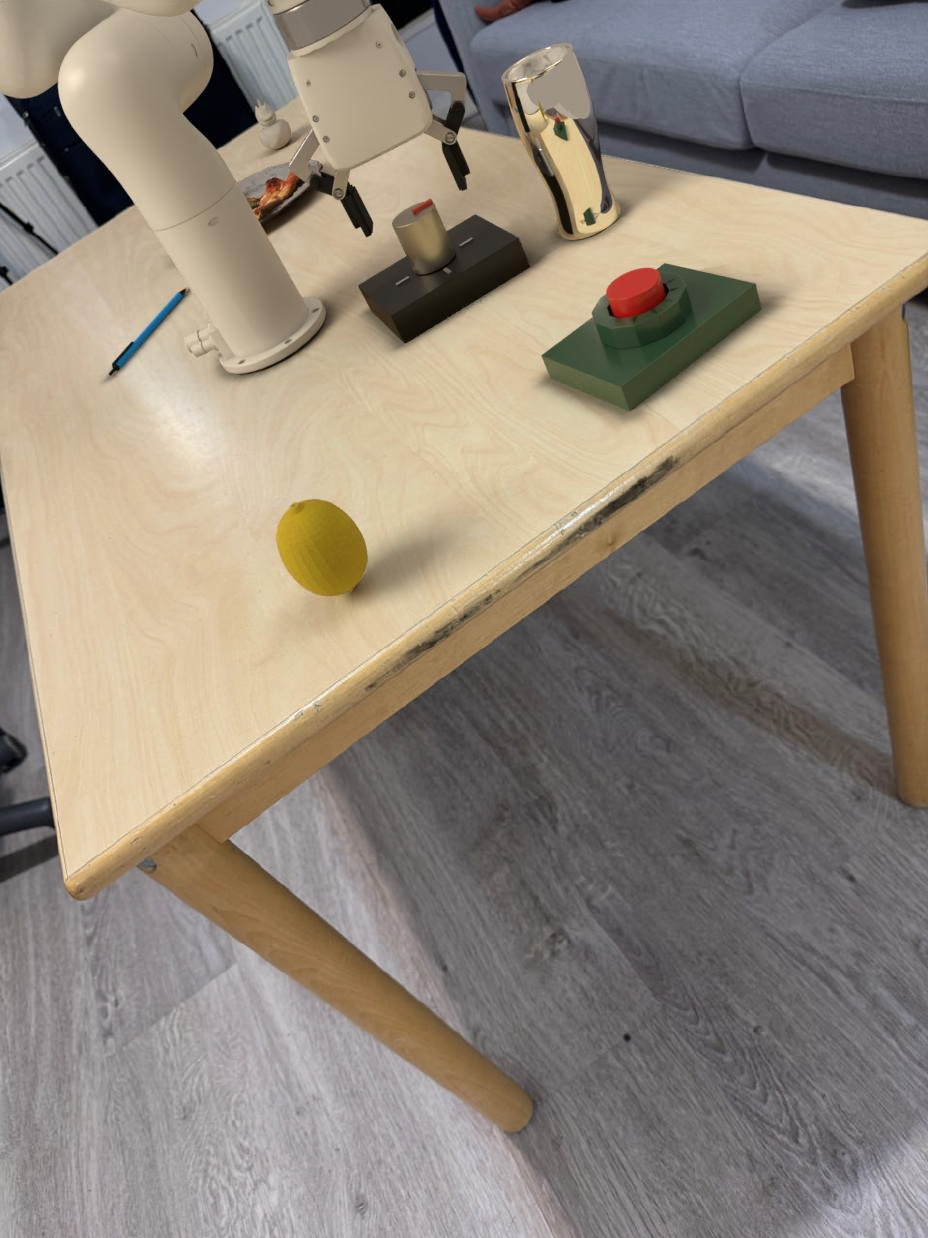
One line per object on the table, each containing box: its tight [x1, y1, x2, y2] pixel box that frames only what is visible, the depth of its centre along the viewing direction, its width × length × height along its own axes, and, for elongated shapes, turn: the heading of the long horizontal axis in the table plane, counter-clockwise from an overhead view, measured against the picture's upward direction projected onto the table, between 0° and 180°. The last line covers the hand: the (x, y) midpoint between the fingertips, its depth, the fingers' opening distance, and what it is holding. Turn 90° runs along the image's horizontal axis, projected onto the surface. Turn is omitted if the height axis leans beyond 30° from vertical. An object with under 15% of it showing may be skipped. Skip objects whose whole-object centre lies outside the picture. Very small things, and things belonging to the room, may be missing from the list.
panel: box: [357, 213, 531, 344], centre depth 96 cm, size 14×11×3 cm
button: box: [605, 267, 666, 318], centre depth 72 cm, size 4×4×2 cm
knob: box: [391, 198, 455, 275], centre depth 93 cm, size 4×4×5 cm
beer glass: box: [500, 42, 622, 241], centre depth 89 cm, size 7×7×15 cm
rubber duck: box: [254, 98, 292, 150], centre depth 161 cm, size 5×7×8 cm
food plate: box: [236, 158, 324, 225], centre depth 141 cm, size 25×23×4 cm
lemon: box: [275, 498, 369, 597], centre depth 66 cm, size 6×6×8 cm
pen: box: [108, 287, 187, 377], centre depth 124 cm, size 1×19×1 cm, turn 160°
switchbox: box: [541, 262, 762, 412], centre depth 73 cm, size 13×10×4 cm
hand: (416, 208), depth 91 cm, fingers open, 9 cm apart
